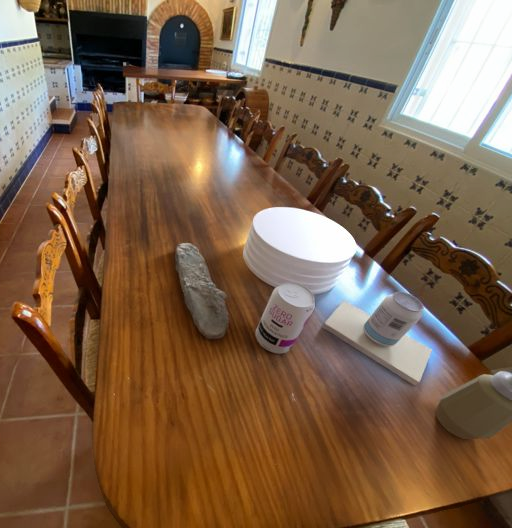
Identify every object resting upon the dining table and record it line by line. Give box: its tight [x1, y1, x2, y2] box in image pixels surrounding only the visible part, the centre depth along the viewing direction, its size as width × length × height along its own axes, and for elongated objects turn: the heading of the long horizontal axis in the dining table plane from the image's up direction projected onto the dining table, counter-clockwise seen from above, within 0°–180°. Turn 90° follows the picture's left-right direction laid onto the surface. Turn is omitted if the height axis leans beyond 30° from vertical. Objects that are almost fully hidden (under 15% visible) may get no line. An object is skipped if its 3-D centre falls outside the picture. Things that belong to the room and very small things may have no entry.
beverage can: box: [363, 291, 425, 346], centre depth 65 cm, size 7×7×12 cm
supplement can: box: [254, 282, 316, 354], centre depth 63 cm, size 8×8×15 cm
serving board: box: [322, 299, 433, 387], centre depth 70 cm, size 20×12×2 cm, turn 43°
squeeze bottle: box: [435, 370, 512, 440], centre depth 50 cm, size 8×8×18 cm
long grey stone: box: [174, 242, 230, 340], centre depth 78 cm, size 35×5×10 cm
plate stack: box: [242, 206, 357, 296], centre depth 88 cm, size 28×28×12 cm
